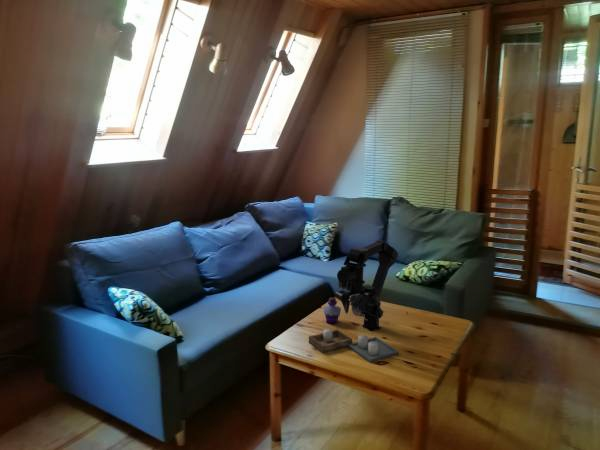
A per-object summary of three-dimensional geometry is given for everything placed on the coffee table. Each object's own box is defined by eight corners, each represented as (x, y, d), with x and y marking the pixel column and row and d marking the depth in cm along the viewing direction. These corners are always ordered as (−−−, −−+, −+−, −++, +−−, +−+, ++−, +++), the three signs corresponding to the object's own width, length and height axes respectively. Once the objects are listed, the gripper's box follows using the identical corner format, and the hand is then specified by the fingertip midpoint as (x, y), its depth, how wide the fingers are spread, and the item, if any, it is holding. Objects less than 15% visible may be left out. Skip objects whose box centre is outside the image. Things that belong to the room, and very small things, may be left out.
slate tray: (375, 339, 204) (375, 336, 203) (398, 354, 191) (398, 350, 191) (347, 347, 196) (347, 344, 196) (369, 362, 184) (370, 359, 183)
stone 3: (375, 351, 192) (376, 341, 191) (379, 355, 188) (379, 345, 187) (366, 352, 191) (366, 342, 190) (370, 356, 187) (370, 346, 186)
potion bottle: (333, 317, 227) (334, 293, 225) (344, 323, 220) (345, 299, 218) (319, 320, 223) (319, 297, 221) (329, 327, 216) (330, 302, 213)
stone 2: (361, 343, 198) (361, 334, 197) (369, 346, 195) (369, 336, 194) (355, 347, 195) (356, 337, 194) (363, 350, 192) (364, 340, 191)
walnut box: (337, 335, 207) (337, 329, 207) (351, 345, 198) (352, 338, 197) (308, 342, 200) (308, 336, 199) (322, 353, 191) (322, 346, 190)
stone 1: (333, 341, 200) (334, 331, 199) (326, 343, 198) (326, 333, 197) (329, 337, 203) (329, 328, 202) (321, 339, 201) (321, 329, 200)
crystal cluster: (381, 313, 235) (382, 293, 234) (366, 318, 225) (367, 298, 224) (360, 307, 244) (360, 289, 243) (344, 313, 234) (345, 293, 233)
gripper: (362, 269, 212) (360, 301, 215) (328, 275, 203) (327, 309, 206) (377, 276, 203) (376, 309, 206) (342, 283, 193) (341, 317, 197)
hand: (355, 311), depth 204 cm, fingers open, 9 cm apart
